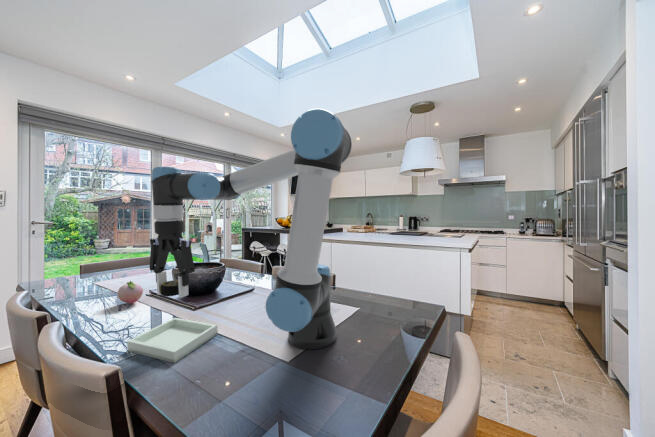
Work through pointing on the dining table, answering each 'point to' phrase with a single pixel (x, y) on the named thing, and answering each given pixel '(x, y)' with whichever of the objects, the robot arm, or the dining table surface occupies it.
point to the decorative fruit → (130, 292)
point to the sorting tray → (172, 339)
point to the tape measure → (169, 288)
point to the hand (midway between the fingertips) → (173, 294)
